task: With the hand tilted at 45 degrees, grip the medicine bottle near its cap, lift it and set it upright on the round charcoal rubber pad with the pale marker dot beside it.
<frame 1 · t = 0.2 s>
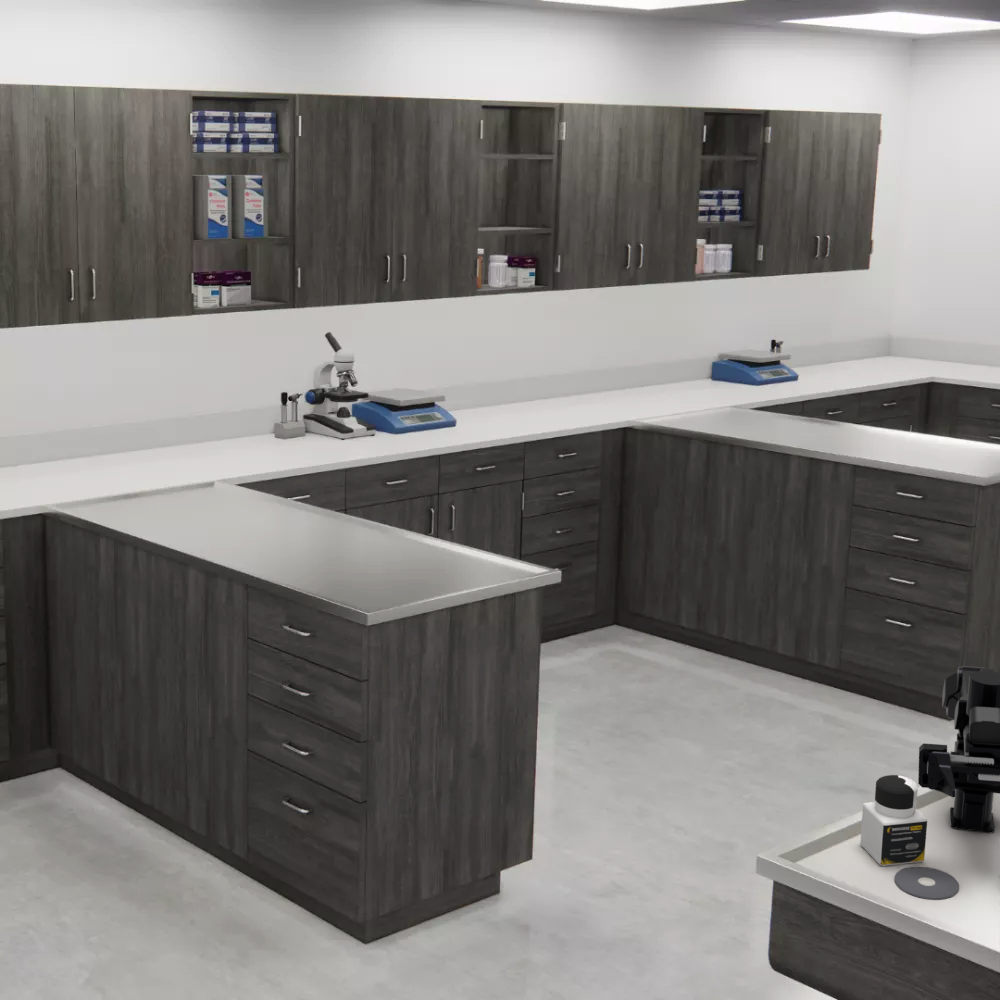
hand: (988, 796, 200), 16 cm above the countertop, tool horizontal, fingers open, 9 cm apart
medicine bottle: (891, 854, 218), on the countertop
layout pad: (926, 883, 209), on the countertop
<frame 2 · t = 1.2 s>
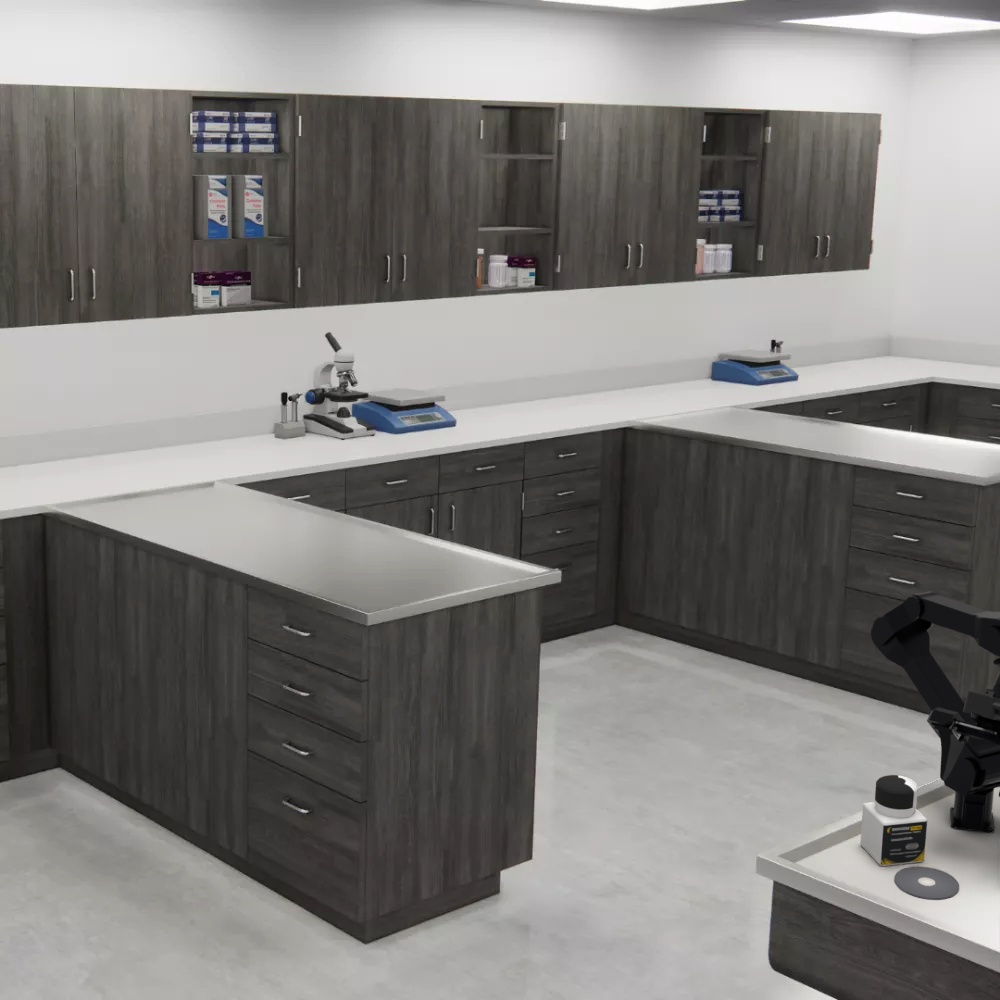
hand: (970, 788, 210), 13 cm above the countertop, tool tilted 45°, fingers open, 9 cm apart
nothing on the countertop moved.
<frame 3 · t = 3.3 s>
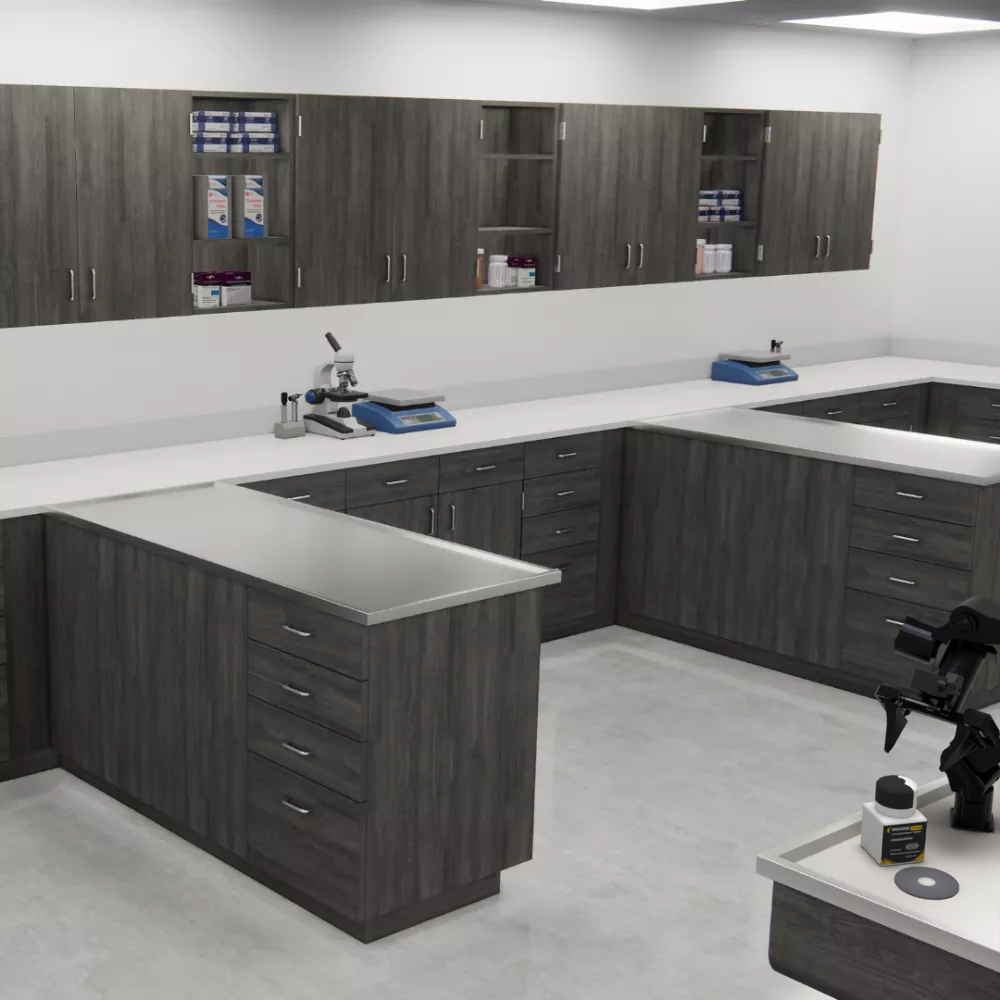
hand: (912, 761, 218), 14 cm above the countertop, tool tilted 45°, fingers open, 9 cm apart
nothing on the countertop moved.
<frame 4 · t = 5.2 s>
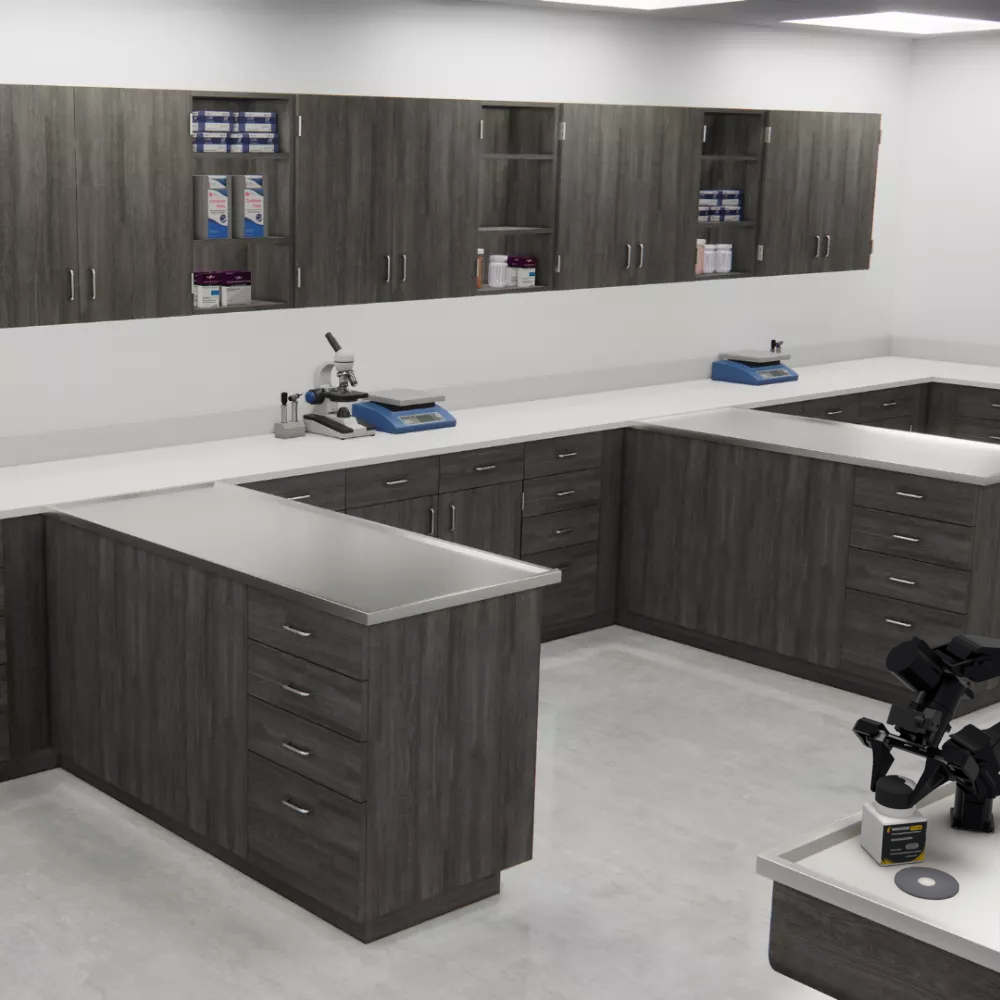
hand: (891, 797, 215), 10 cm above the countertop, tool tilted 45°, fingers closed on medicine bottle, 6 cm apart
medicine bottle: (891, 854, 218), on the countertop, touching gripper
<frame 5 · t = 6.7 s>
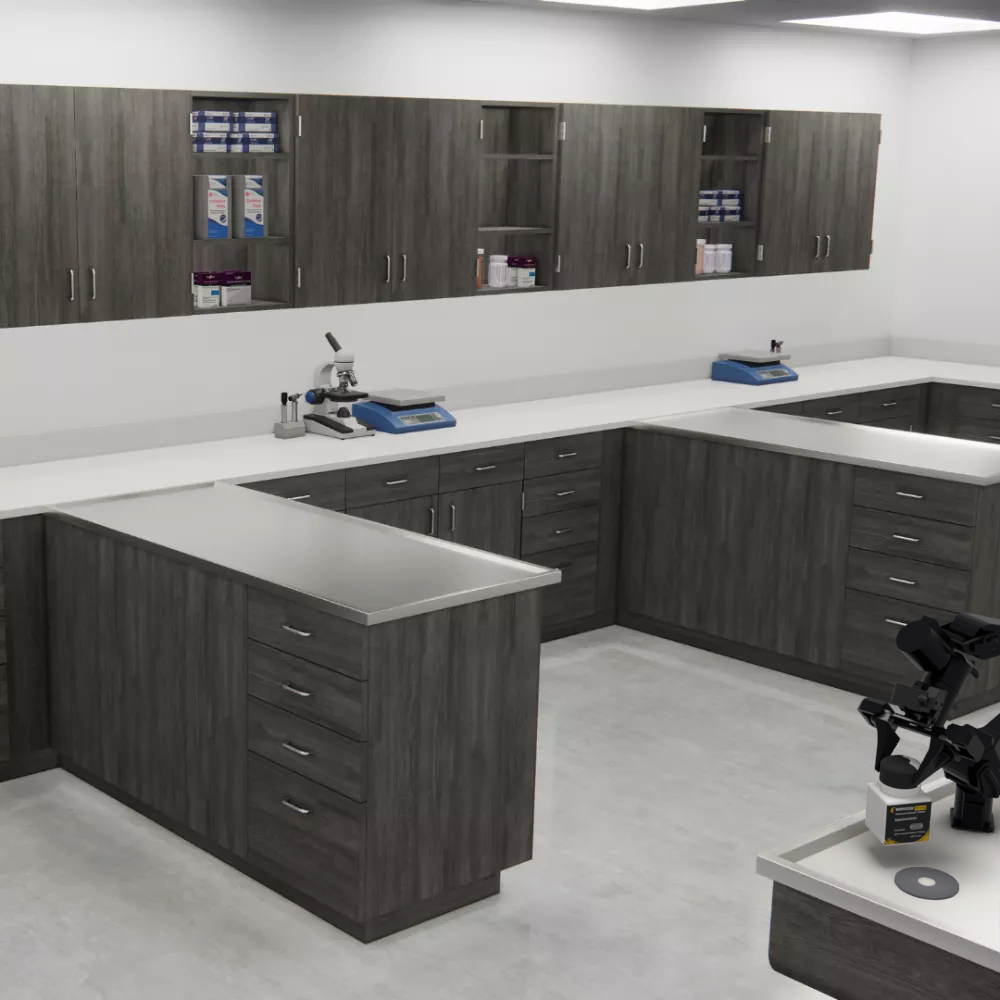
hand: (895, 777, 213), 13 cm above the countertop, tool tilted 45°, fingers closed on medicine bottle, 6 cm apart
medicine bottle: (896, 834, 216), point 3 cm above the countertop, touching gripper
when the fingers open (11 cm above the countertop, at t = 8.4 s): medicine bottle stays where it is, resting on layout pad.
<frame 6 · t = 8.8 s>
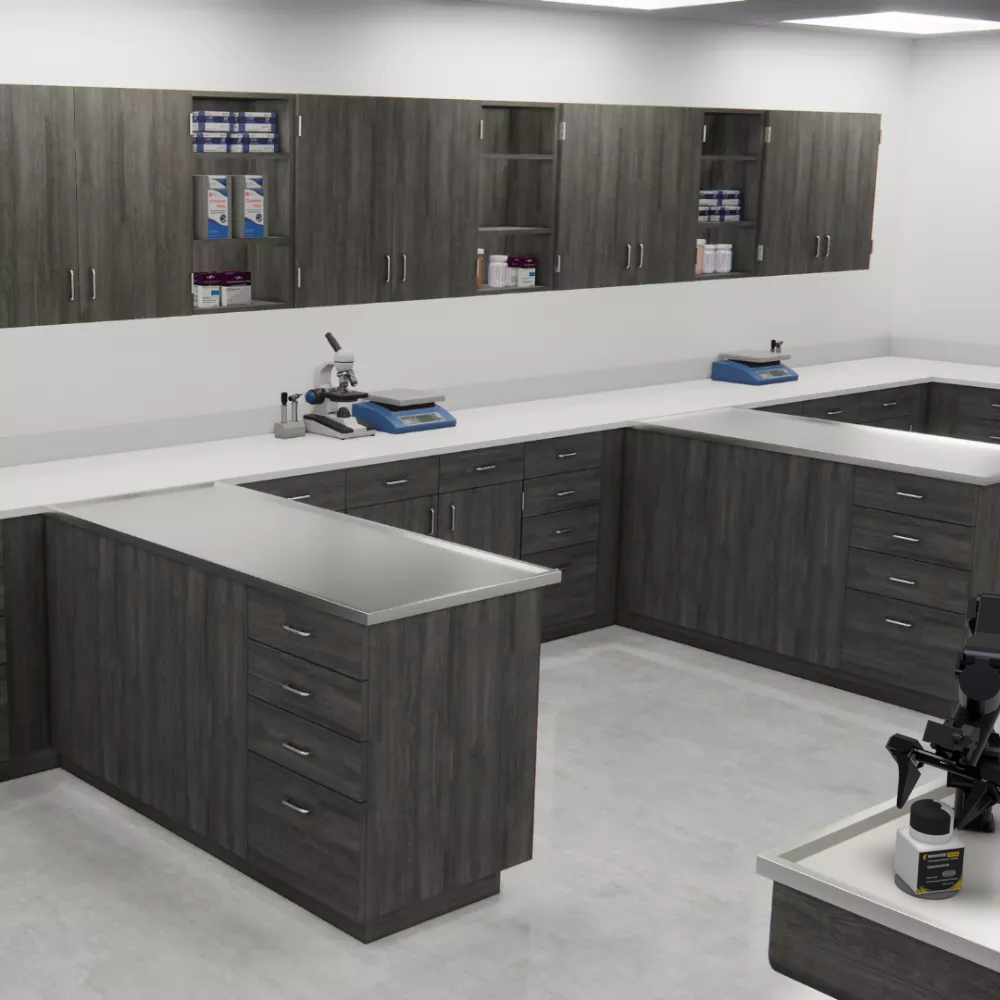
hand: (927, 818, 206), 11 cm above the countertop, tool tilted 45°, fingers open, 9 cm apart
medicine bottle: (927, 881, 209), resting on layout pad
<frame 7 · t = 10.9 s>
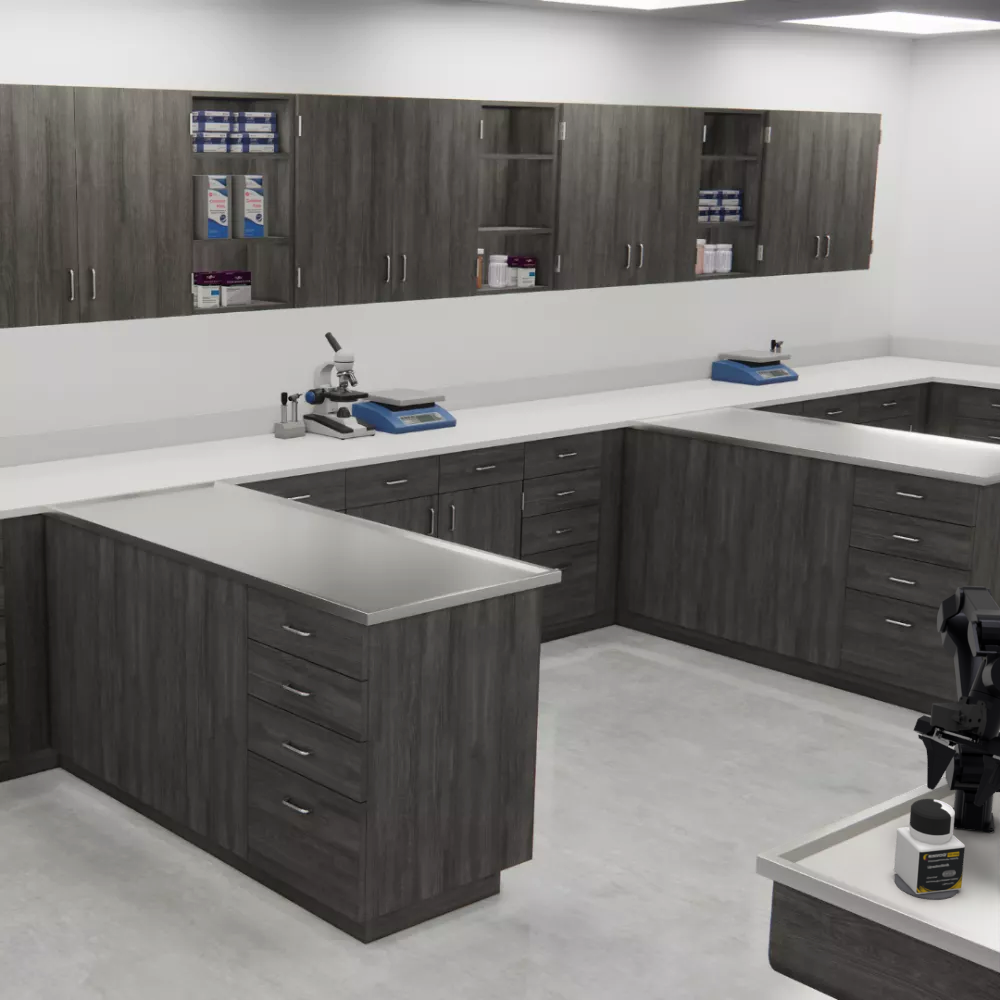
hand: (953, 797, 211), 11 cm above the countertop, tool tilted 30°, fingers open, 9 cm apart
nothing on the countertop moved.
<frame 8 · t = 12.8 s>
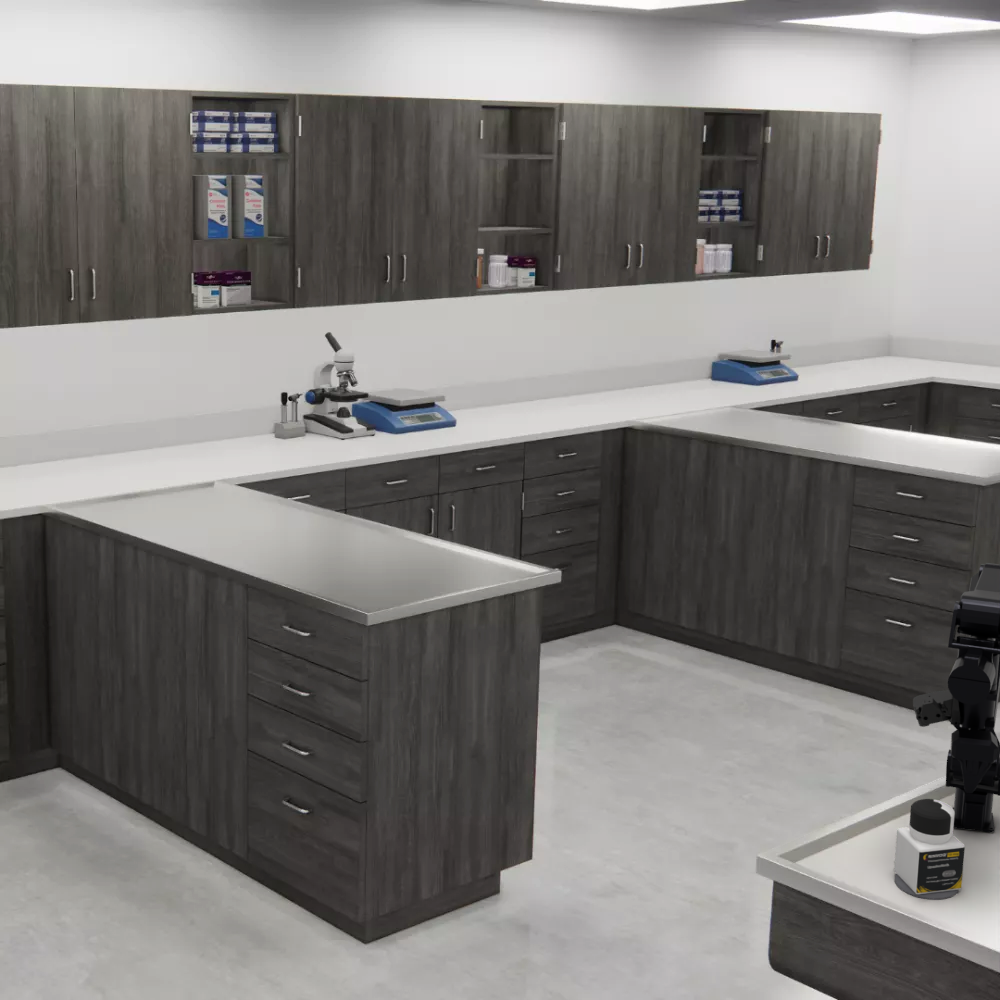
hand: (967, 779, 213), 13 cm above the countertop, tool pointing down, fingers open, 9 cm apart
nothing on the countertop moved.
at the end: medicine bottle 0.3 cm off-centre on the layout pad, point 0.1 cm above the layout pad's base; medicine bottle tilted 0°; the gripper is holding nothing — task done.
